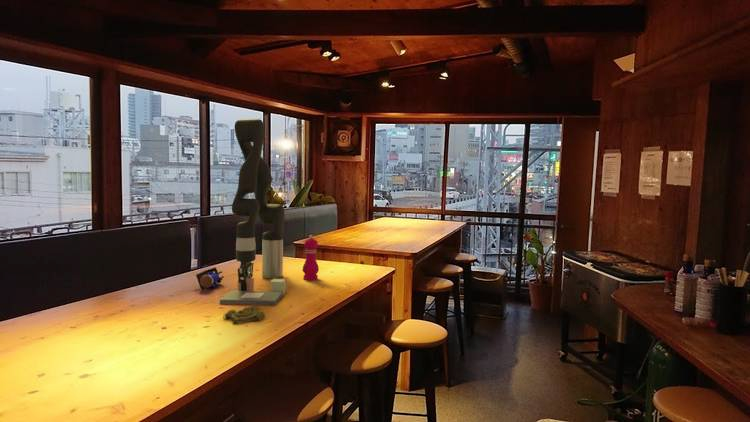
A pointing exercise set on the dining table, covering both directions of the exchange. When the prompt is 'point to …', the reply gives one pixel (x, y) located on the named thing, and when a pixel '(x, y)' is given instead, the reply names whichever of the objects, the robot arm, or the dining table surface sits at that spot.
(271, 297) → the base plate
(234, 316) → the spaceship toy
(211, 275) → the character figurine
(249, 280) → the terracotta block
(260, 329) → the dining table surface
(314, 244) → the pepper mill
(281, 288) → the sage block
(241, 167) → the robot arm
